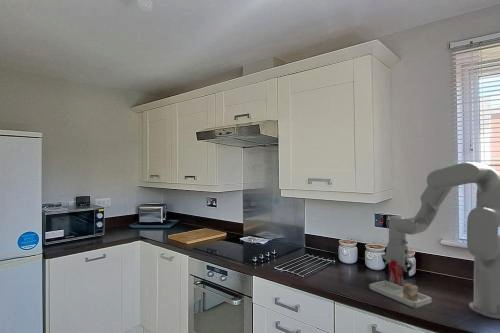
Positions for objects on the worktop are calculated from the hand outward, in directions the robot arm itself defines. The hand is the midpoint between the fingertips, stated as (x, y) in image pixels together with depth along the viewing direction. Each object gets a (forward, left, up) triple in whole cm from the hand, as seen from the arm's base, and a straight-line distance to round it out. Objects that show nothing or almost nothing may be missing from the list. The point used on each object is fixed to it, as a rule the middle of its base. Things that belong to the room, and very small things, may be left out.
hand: (396, 276), depth 149 cm
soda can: (0, 0, -4) cm, 4 cm away
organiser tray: (-10, +13, -4) cm, 17 cm away
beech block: (-15, +13, -3) cm, 20 cm away
